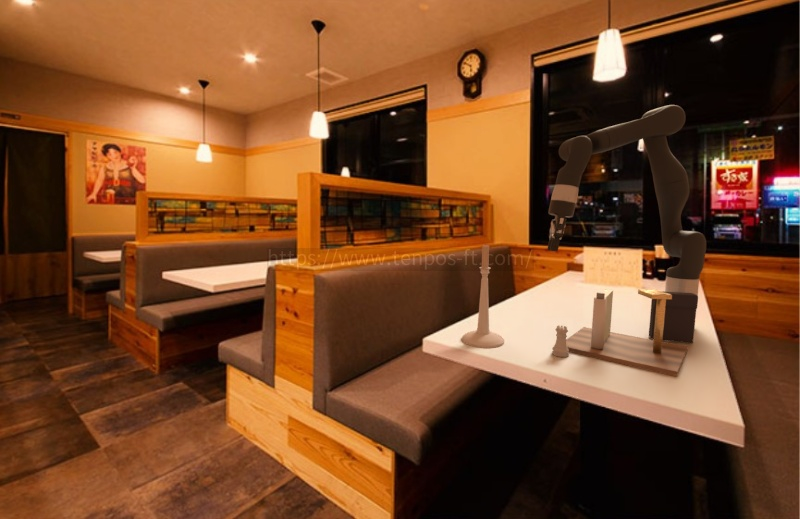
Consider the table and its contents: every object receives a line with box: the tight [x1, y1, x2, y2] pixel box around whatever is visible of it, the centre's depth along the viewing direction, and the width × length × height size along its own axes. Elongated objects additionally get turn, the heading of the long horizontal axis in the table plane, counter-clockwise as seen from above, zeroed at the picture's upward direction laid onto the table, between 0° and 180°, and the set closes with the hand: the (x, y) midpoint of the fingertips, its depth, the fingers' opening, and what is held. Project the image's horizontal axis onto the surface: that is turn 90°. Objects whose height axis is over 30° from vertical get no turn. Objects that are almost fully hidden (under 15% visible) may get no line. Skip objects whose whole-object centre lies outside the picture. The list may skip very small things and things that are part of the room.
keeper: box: [637, 288, 672, 354], centre depth 106 cm, size 7×5×18 cm
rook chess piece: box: [551, 325, 570, 358], centre depth 105 cm, size 4×4×8 cm
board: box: [566, 326, 689, 377], centre depth 109 cm, size 24×28×1 cm
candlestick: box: [461, 244, 505, 349], centre depth 115 cm, size 13×13×30 cm
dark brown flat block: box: [648, 290, 699, 344], centre depth 117 cm, size 11×4×15 cm, turn 71°
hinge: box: [591, 288, 614, 349], centre depth 112 cm, size 18×3×16 cm, turn 143°
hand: (552, 250), depth 122 cm, fingers open, 8 cm apart
